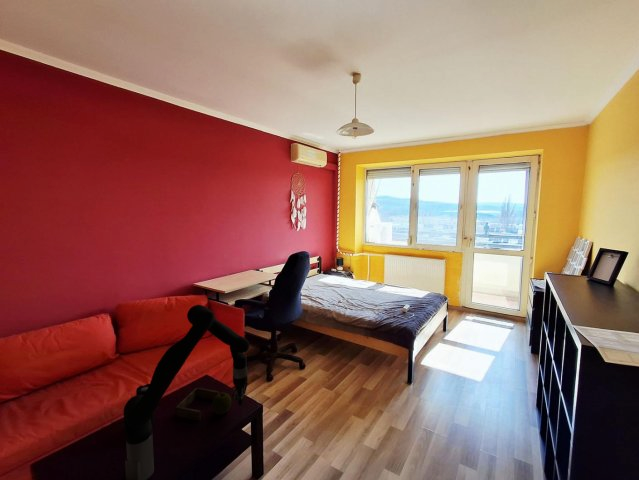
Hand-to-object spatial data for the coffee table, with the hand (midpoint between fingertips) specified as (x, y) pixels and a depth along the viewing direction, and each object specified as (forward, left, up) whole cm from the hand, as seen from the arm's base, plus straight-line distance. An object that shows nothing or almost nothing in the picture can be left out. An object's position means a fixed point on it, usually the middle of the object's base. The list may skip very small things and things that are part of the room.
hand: (240, 404), depth 158 cm
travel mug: (-18, +43, -7) cm, 47 cm away
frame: (0, +25, -6) cm, 26 cm away
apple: (0, +11, -7) cm, 13 cm away
